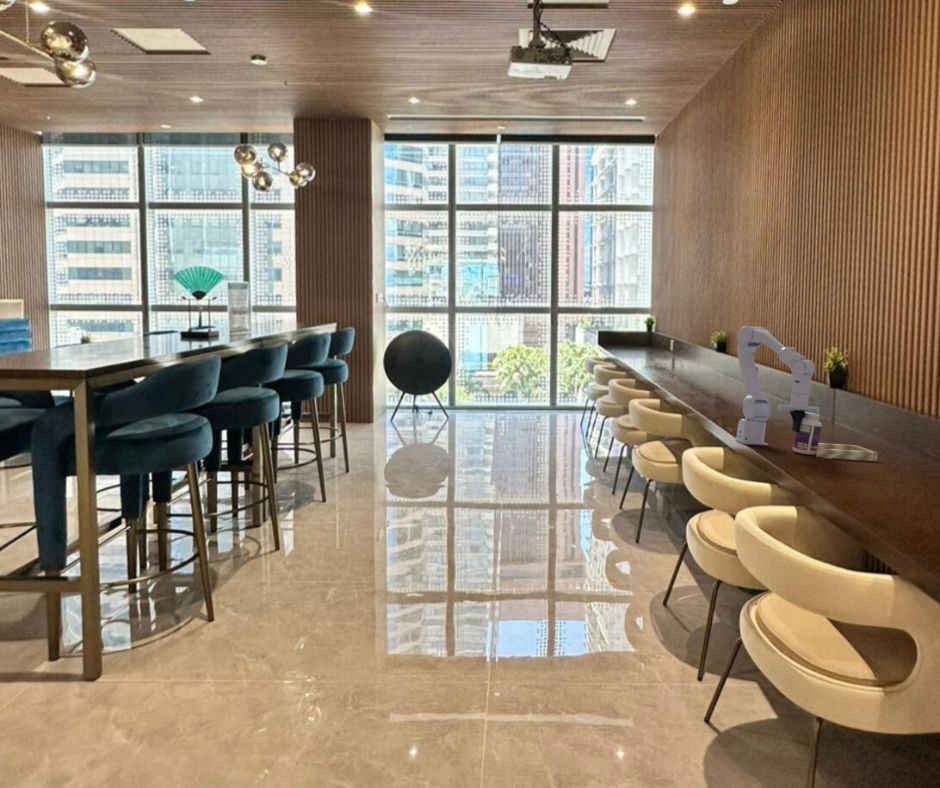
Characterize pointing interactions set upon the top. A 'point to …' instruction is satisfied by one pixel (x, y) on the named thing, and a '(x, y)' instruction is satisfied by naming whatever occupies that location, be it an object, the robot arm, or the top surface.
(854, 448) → the cradle
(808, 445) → the pill bottle
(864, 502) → the top surface
